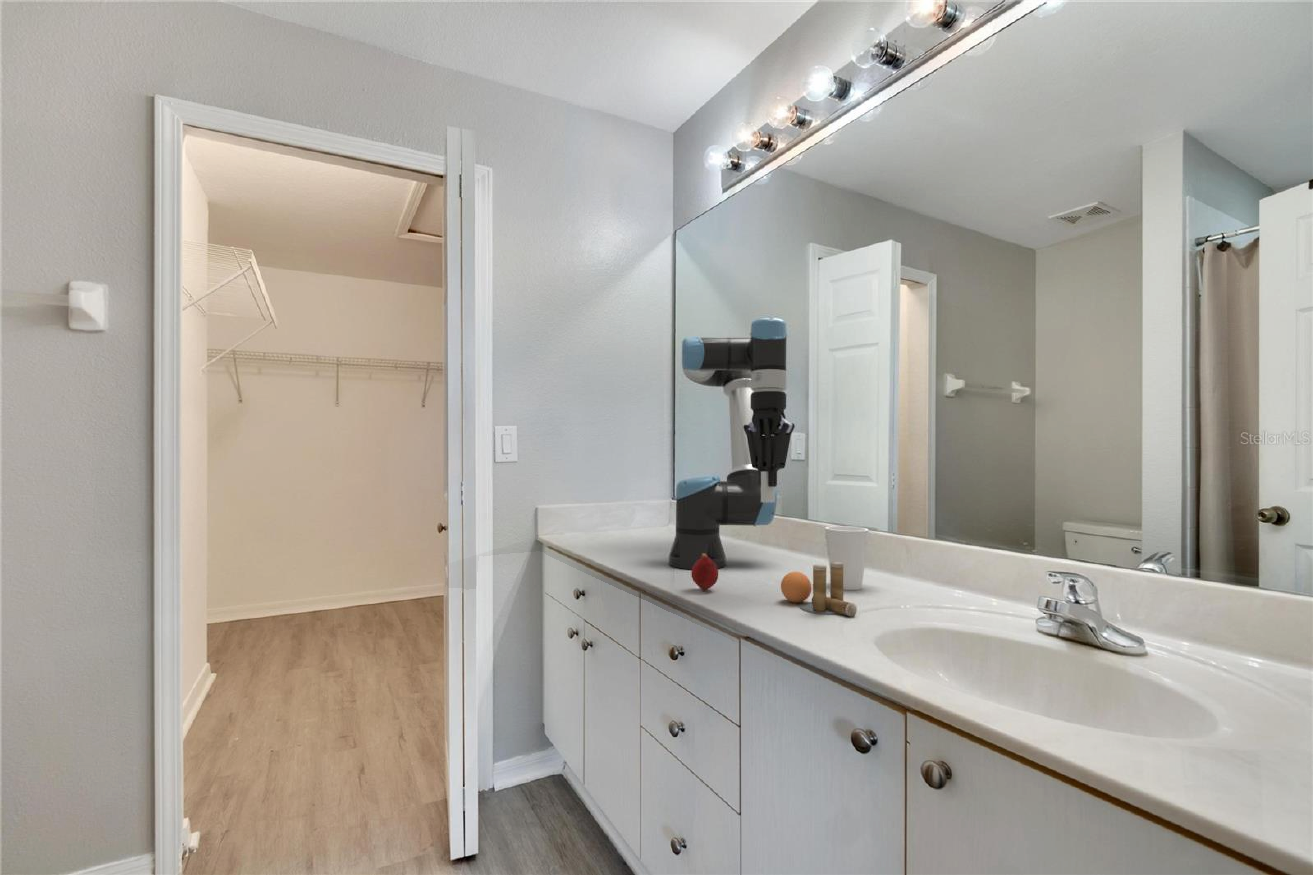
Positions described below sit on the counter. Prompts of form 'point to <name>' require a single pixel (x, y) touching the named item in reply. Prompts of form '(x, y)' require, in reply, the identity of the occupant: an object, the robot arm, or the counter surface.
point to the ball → (796, 587)
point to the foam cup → (848, 552)
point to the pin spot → (809, 608)
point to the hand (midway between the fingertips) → (767, 501)
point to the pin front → (840, 606)
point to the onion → (704, 573)
